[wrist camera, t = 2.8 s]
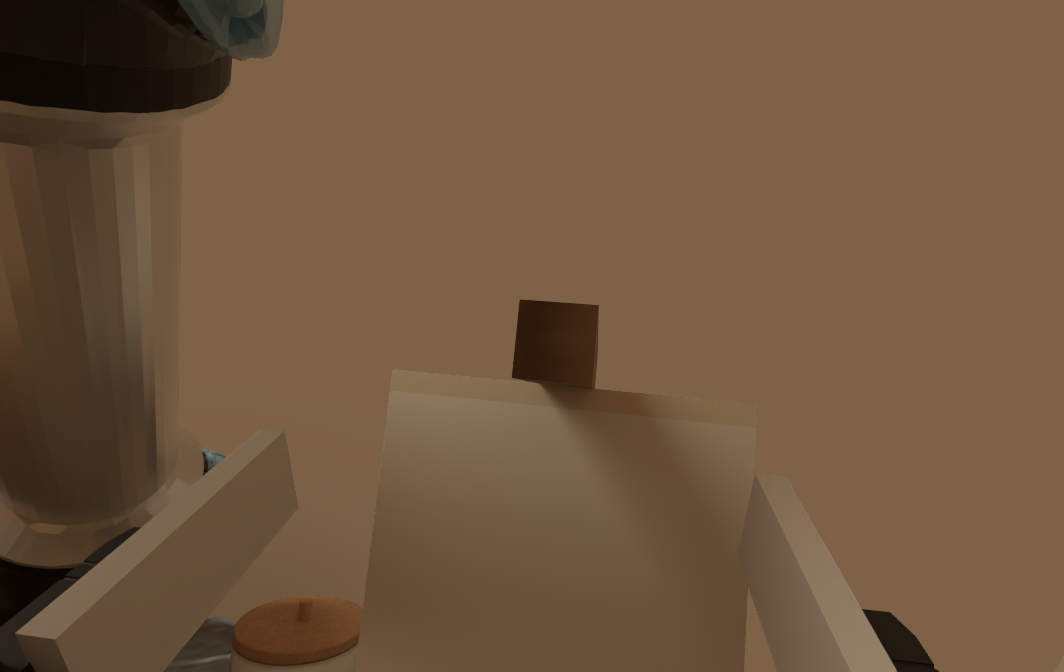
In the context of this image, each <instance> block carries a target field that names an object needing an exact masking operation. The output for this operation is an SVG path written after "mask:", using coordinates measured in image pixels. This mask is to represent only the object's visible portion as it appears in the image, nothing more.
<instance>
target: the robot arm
mask: <svg viewBox="0 0 1064 672" xmlns="http://www.w3.org/2000/svg"><path fill="white" fill-rule="evenodd" d="M283 1H284V0H0V672H163V671H164V669H165V668H166V667H167V666H168V665H169V663H170V662H171V661H172V660H173V659H174V657H175V656H176V655H177V654H178V653H179V651H180V650H181V649H182V648H183V647H184V645H185V644H186V643H187V642H188V640H189V639H190V638H191V637H192V636H193V634H194V633H195V632H196V631H197V630H198V628H199V627H200V626H201V625H202V624H203V622H204V621H205V620H206V619H207V618H208V616H209V615H210V614H211V613H212V612H213V610H214V609H215V608H216V607H217V605H218V604H219V603H220V602H221V601H222V599H223V598H224V597H225V596H226V595H227V593H228V592H229V591H230V590H231V588H232V587H233V586H234V585H235V584H236V583H237V581H238V580H239V579H240V578H241V576H242V575H243V574H244V573H245V572H246V570H247V569H248V568H249V567H250V566H251V564H252V563H253V562H254V561H255V560H256V558H257V557H258V556H259V555H260V554H261V552H262V551H263V550H264V549H265V547H266V546H267V545H268V544H269V542H270V541H271V540H272V539H273V538H274V537H275V535H276V534H277V533H278V532H279V531H280V529H281V528H282V527H283V526H284V524H285V523H286V522H287V521H288V520H289V518H290V517H291V516H292V515H293V514H294V512H295V511H296V510H297V509H298V504H297V498H296V492H295V487H294V481H293V476H292V469H291V464H290V458H289V452H288V446H287V441H286V435H285V431H282V430H272V429H259V430H258V431H256V432H255V433H254V434H253V435H252V436H250V437H249V438H248V439H247V440H246V441H245V442H243V443H242V444H241V445H240V446H238V447H237V448H236V449H235V450H234V451H233V452H231V453H230V454H229V455H228V456H226V457H225V456H224V455H223V454H221V453H218V452H211V451H209V450H207V449H201V446H200V444H199V442H198V440H197V438H196V437H195V436H194V434H193V433H192V432H191V431H190V430H189V428H188V427H187V426H185V425H184V424H183V423H181V422H180V421H179V420H178V397H179V392H178V391H179V327H180V257H181V249H180V248H181V183H182V122H183V121H185V120H187V119H189V118H191V117H193V116H195V115H198V114H200V113H202V112H204V111H206V110H208V109H210V108H212V107H213V106H215V105H216V104H218V103H220V102H221V101H222V100H223V99H224V97H225V96H226V95H227V94H228V91H229V88H230V82H231V65H232V58H234V59H237V60H240V61H244V60H247V59H249V58H261V59H262V58H263V59H264V58H266V57H269V56H271V55H272V54H273V53H274V51H275V49H276V48H277V45H278V42H279V36H280V29H281V24H282V16H283ZM737 556H738V559H739V561H740V564H741V567H742V570H743V573H744V576H745V579H746V582H747V585H748V588H749V591H750V594H751V597H752V599H753V602H754V605H755V608H756V611H757V614H758V617H759V620H760V623H761V626H762V629H763V632H764V634H765V637H766V640H767V643H768V646H769V649H770V652H771V655H772V658H773V661H774V664H775V667H776V670H777V672H939V671H938V670H935V668H934V664H933V662H932V661H931V659H930V658H929V656H928V654H927V653H926V651H925V650H924V648H923V647H922V645H921V644H920V642H919V641H918V639H917V638H916V636H915V635H914V634H912V633H911V632H910V631H909V630H908V629H907V628H906V627H905V626H904V625H903V624H902V623H901V622H900V621H899V620H897V618H895V617H894V616H893V615H892V614H891V613H890V612H882V611H874V610H864V609H861V607H860V605H859V604H858V602H857V600H856V598H855V597H854V595H853V593H852V591H851V590H850V588H849V586H848V584H847V583H846V581H845V579H844V577H843V576H842V574H841V573H840V571H839V569H838V567H837V565H836V563H835V562H834V560H833V558H832V557H831V555H830V553H829V551H828V549H827V548H826V546H825V544H824V542H823V541H822V539H821V537H820V536H819V534H818V532H817V530H816V528H815V527H814V525H813V523H812V521H811V520H810V518H809V516H808V514H807V513H806V511H805V509H804V507H803V506H802V504H801V502H800V500H799V499H798V497H797V495H796V493H795V492H794V490H793V488H792V486H791V485H790V483H789V481H788V479H787V478H786V476H782V475H771V474H759V473H755V475H754V480H753V485H752V489H751V494H750V498H749V503H748V508H747V512H746V517H745V521H744V526H743V531H742V535H741V540H740V544H739V549H738V554H737Z"/></svg>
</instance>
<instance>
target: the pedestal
mask: <svg viewBox="0 0 1064 672" xmlns="http://www.w3.org/2000/svg"><path fill="white" fill-rule="evenodd" d="M756 414H757V405H756V404H747V403H736V402H726V401H716V400H705V399H695V398H684V397H674V396H663V395H653V394H643V393H632V392H622V391H611V390H601V389H591V388H580V387H570V386H559V385H549V384H539V383H528V382H517V381H506V380H497V379H486V378H475V377H466V376H455V375H445V374H434V373H423V372H413V371H403V370H393V373H392V381H391V389H390V397H389V404H388V412H387V421H386V428H385V436H384V445H383V452H382V460H381V468H380V476H379V483H378V492H377V499H376V507H375V515H374V523H373V531H372V539H371V547H370V555H369V564H368V571H367V578H366V579H367V580H366V586H365V595H364V603H363V610H362V618H361V626H360V634H359V642H358V650H357V658H356V666H355V672H744V656H745V637H746V617H747V616H746V615H747V597H748V585H747V582H746V579H745V576H744V573H743V570H742V567H741V564H740V561H739V559H738V556H737V554H738V549H739V544H740V540H741V535H742V531H743V526H744V521H745V517H746V512H747V508H748V503H749V498H750V494H751V489H752V485H753V475H754V455H755V435H756Z"/></svg>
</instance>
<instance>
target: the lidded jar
mask: <svg viewBox="0 0 1064 672" xmlns="http://www.w3.org/2000/svg"><path fill="white" fill-rule="evenodd" d="M362 610H363V609H362V608H361V607H360V606H358V605H357V604H355V603H353V602H351V601H348V600H345V599H341V598H337V597H330V596H298V597H290V598H285V599H280V600H276V601H272V602H269V603H266V604H263V605H261V606H258V607H256V608H254V609H252V610H251V611H249V612H247V613H246V614H245V615H243V616H242V617H241V618H240V619H239V620H238V621H237V623H236V624H235V626H234V629H233V634H232V651H231V660H230V672H355V666H356V658H357V650H358V642H359V634H360V626H361V618H362Z"/></svg>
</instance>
